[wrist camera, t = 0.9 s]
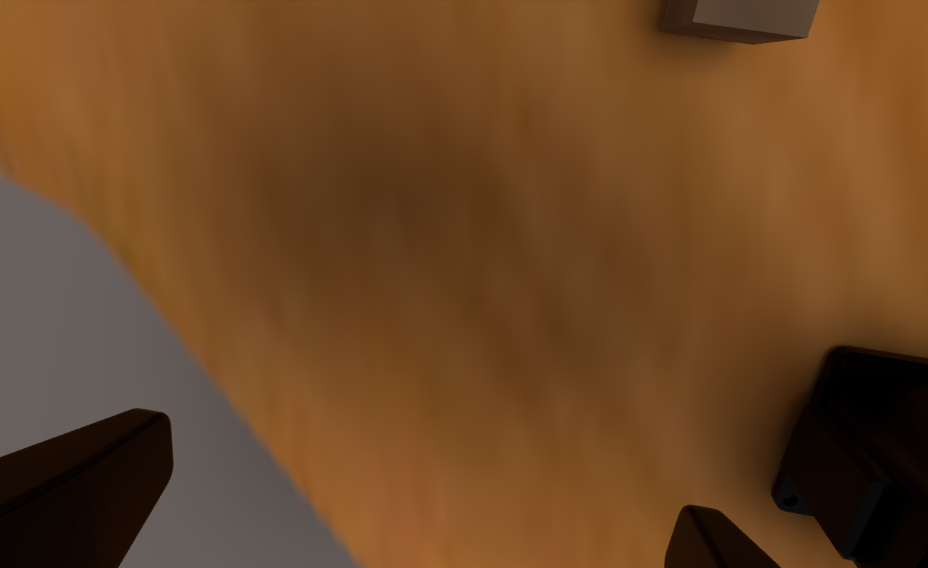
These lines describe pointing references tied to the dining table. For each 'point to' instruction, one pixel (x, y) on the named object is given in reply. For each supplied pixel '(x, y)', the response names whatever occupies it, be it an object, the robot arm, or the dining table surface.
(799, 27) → the brown square bar
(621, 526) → the dining table surface
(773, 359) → the dining table surface
